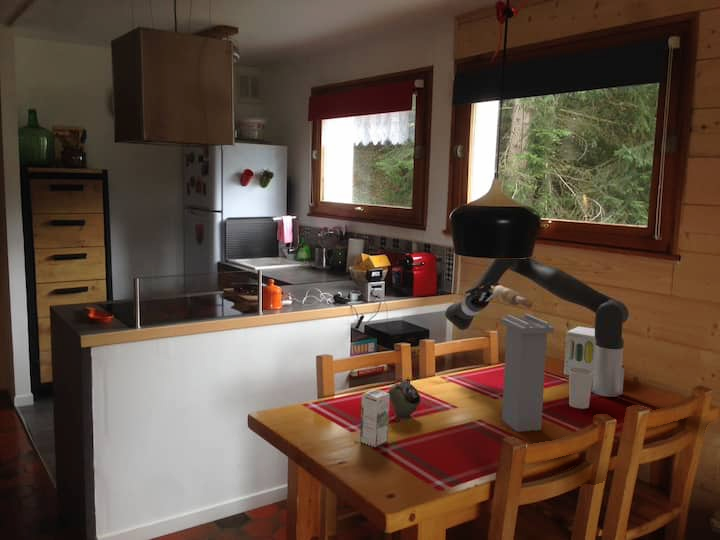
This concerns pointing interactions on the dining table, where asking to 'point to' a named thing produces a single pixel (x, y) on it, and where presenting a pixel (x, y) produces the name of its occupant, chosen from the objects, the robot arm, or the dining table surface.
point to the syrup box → (374, 417)
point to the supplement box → (580, 349)
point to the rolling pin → (510, 296)
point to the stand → (524, 371)
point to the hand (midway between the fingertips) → (493, 285)
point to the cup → (580, 387)
